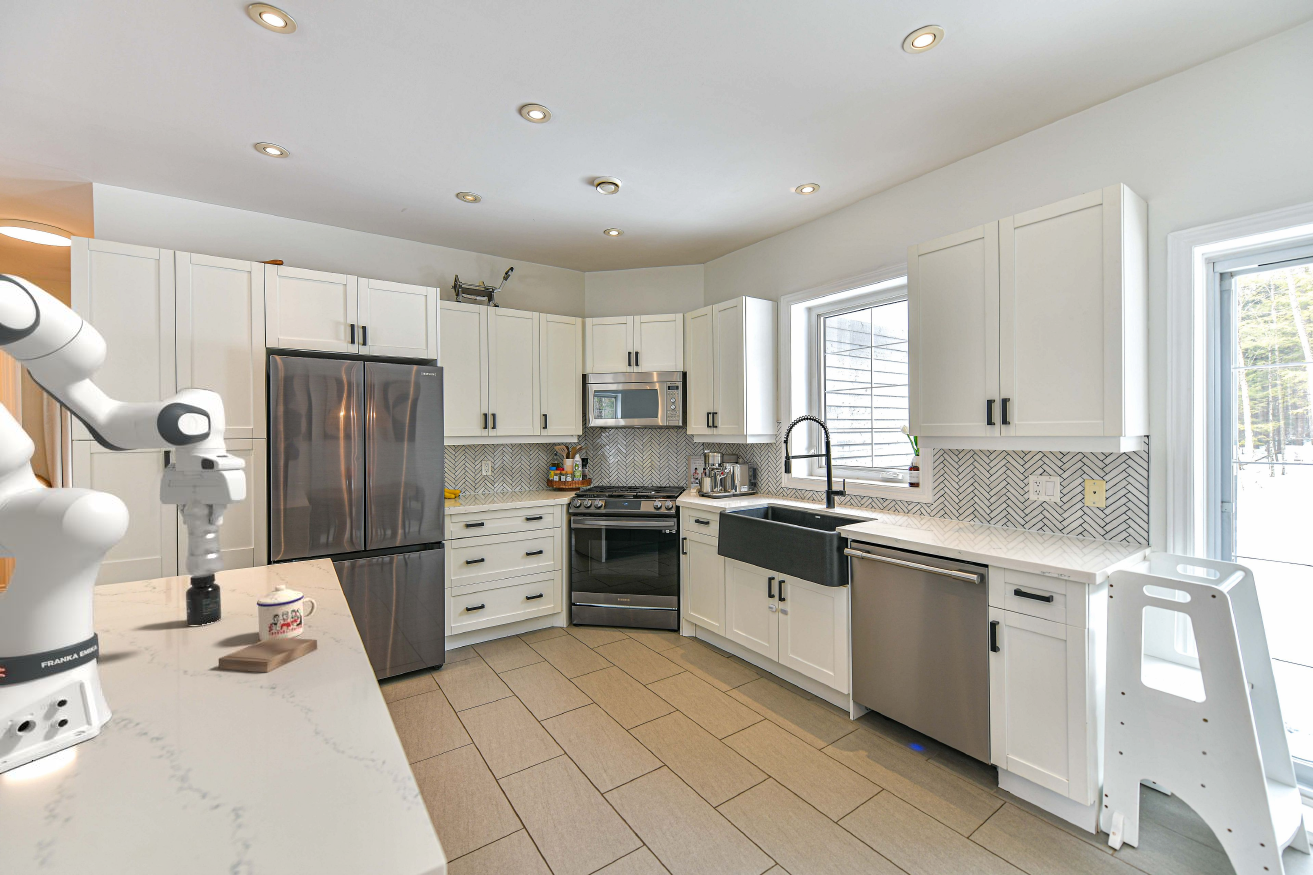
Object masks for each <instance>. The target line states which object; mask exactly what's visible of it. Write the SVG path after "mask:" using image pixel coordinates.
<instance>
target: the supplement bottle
mask: <svg viewBox="0 0 1313 875" xmlns="http://www.w3.org/2000/svg"><path fill="white" fill-rule="evenodd" d="M215 574H216V573H213V574H210V575H207V576H192V575H191V577H190V582H189V584H190V586H191V587H189V588H188V589H187V590H186V592H185V604H186V605H185V608H186V609H185V610H186V625H187V624H188V625H202V624H207V623H211V622H215V621H217V620H219V619H220V620H221V619H222V602H221V600H222V598H221V587H220V585H219V584H218V583H215V582H216V575H215ZM220 620H219V621H220ZM188 625H187V626H188Z"/></svg>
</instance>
